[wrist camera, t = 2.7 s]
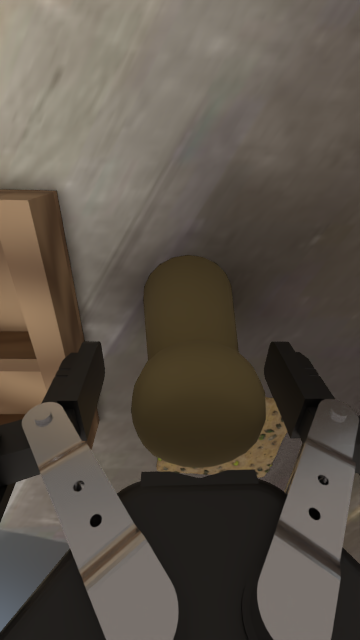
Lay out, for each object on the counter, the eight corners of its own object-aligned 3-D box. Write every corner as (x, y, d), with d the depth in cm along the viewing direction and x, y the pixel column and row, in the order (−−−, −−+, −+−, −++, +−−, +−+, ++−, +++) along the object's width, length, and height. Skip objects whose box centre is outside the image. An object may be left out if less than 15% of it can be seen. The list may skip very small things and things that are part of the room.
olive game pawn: (156, 242, 17) (134, 357, 8) (246, 270, 18) (327, 401, 9) (134, 323, 20) (99, 478, 10) (213, 343, 21) (245, 499, 12)
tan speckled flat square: (302, 395, 25) (307, 403, 24) (263, 473, 31) (266, 481, 30) (167, 384, 24) (167, 392, 23) (155, 467, 30) (154, 475, 29)
